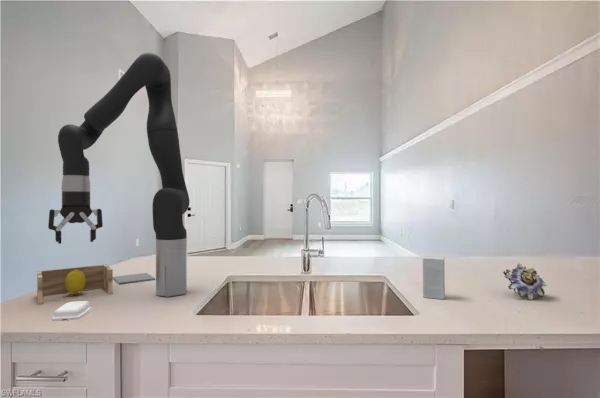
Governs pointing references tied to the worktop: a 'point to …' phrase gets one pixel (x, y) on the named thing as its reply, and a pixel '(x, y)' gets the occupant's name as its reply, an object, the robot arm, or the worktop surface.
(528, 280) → the passion flower
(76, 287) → the lemon
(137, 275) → the slate coaster
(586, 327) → the worktop surface
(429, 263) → the skincare box
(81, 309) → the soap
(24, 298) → the worktop surface
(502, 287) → the worktop surface
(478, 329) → the worktop surface
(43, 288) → the open u-shaped oak frame
